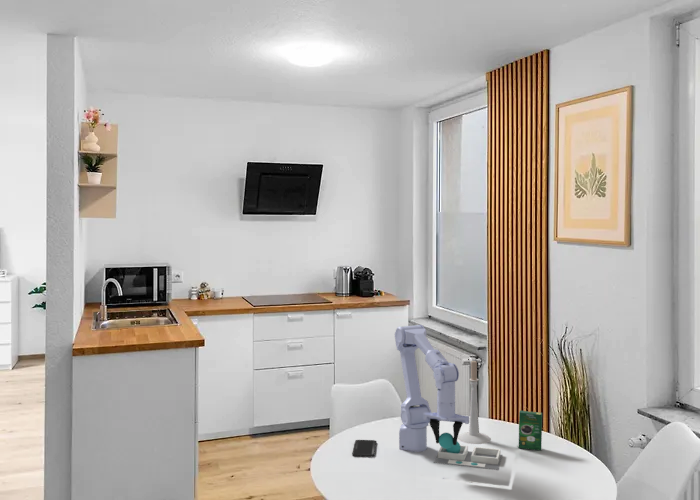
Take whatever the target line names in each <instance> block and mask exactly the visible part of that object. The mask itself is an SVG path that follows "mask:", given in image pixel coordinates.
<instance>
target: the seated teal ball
mask: <svg viewBox="0 0 700 500" xmlns="http://www.w3.org/2000/svg"><path fill="white" fill-rule="evenodd" d="M460 449H461V447H460V442H459V441H457V444H456V445H453V446H452V447H451V448H449V449H446V451H447V452H448V453H457V454H458V453H459V452H460Z"/></svg>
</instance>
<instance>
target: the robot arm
mask: <svg viewBox="0 0 700 500" xmlns="http://www.w3.org/2000/svg"><path fill="white" fill-rule="evenodd" d="M394 340H395V347H396V350H397V351H398V352H399V355H400V362H401V369H402V374H403V380H404V381H403V382H404V386H405V393H406V399H405V400H404V401H403V402H402V403H401V404H400V420H401V423H402V424H400V427H399V432H398V435H399V436H398V445H399V447H398V448H399V450H403V451H404V450H405V451H410V452H424V451H426V450H427V449H428V447H427V445H428V444H427V442H428V440H427V439H428V438H427V437H428V436H427V433H428V430H427V427H428V426H430V428H431V430H432V433H433V434H434V435H433V436H434V439H435V442H436V443H435V444H439V437H440V435H441V434H440V422H449V423H453V424H452V428H453V438H454V440H453V445H456V444H457V442H458V436H459V435H460V434H459V433H460V431H461V428H462V426H463V424H465V425H470V415H469V416H467V415H462V414H458V413H456V382H457V381H458V380H459V377H460V372H459V371H460V370H459V369H458V366H457V365H456V363H454V362H453V363H452V362H449V361H448V360H447V359H446V358H445V356H444V355H443V353H441V351H440V350H439V349H435V348H434V346H433V345H432V343H431V342H430V341H429V339H428V338H427V329H426V328H425V326H424V325H423V324H417V325H404V326H400V325H399V326H397V327H396V329H395V332H394ZM417 349H419V350H420V351H421V352H422V354H423V355H425V357H424V360H425V362H426V364H427V365H428V366H429V367H430V369H431V370H432V372H433V379H434V381H435V383H434V384H435V388H436V389H437V391H436V393H437V394H436V398H437V399H436V401H437V402H436V403H437V404H436V405H437V407H436V409H437V410H436V411H437V412H432V410H431V408H430V405H429V401H428V400H426V399H425V398H424V397H423V396H422V393H421V386H420V381H419V373H418V369H417V368H418V367H417V361H416V354H415V353H416V350H417ZM412 406H413V407H412Z"/></svg>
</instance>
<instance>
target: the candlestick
mask: <svg viewBox="0 0 700 500" xmlns="http://www.w3.org/2000/svg"><path fill="white" fill-rule="evenodd" d="M477 363H478V362H477V361H475V360H472V361H470V372H471V373H470V376H471V377H470V378H469V379H468V380H469V382H470V383H469V384H470V385H471V389H470V391H471V392H470V408H469V410H470V411H469V427H468V432H463V433H461V434H458V438H457V440H458V441H460V442H463V443H465V444H471V445H472V444H473V445H482V444H487V443H489V442H491V441H492V437H490V436H489V435H487V434H485V433H482V432H480V427H479V426H480V425H479V423H480V422H479V406H478V389H477V386H478V384H479V383H478V382H479V381H480V379H479V378H478V377H477V375H478V373H477V372H478V369H477V368H478V367H477V366H478V365H477Z"/></svg>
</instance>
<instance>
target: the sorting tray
mask: <svg viewBox="0 0 700 500" xmlns="http://www.w3.org/2000/svg"><path fill="white" fill-rule="evenodd" d="M460 447H461V449H460V452H459V453H458V454H457V453H448V452H447V451H446V449H445V448H443V447H441V446H440V448H439V450H438V452H437V456H436V458H435V460H434V461H433V464H441V465H449V466H458V467H466V468H468V467H469V468H474V469H485V470H492V471H493V470H495V471H499V469H500V466H501V462H502V458H503V454H501V449H500V448H499V449H497V448H488V447H479V446H474V447H473V451H469V446H468V445H460Z"/></svg>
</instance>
